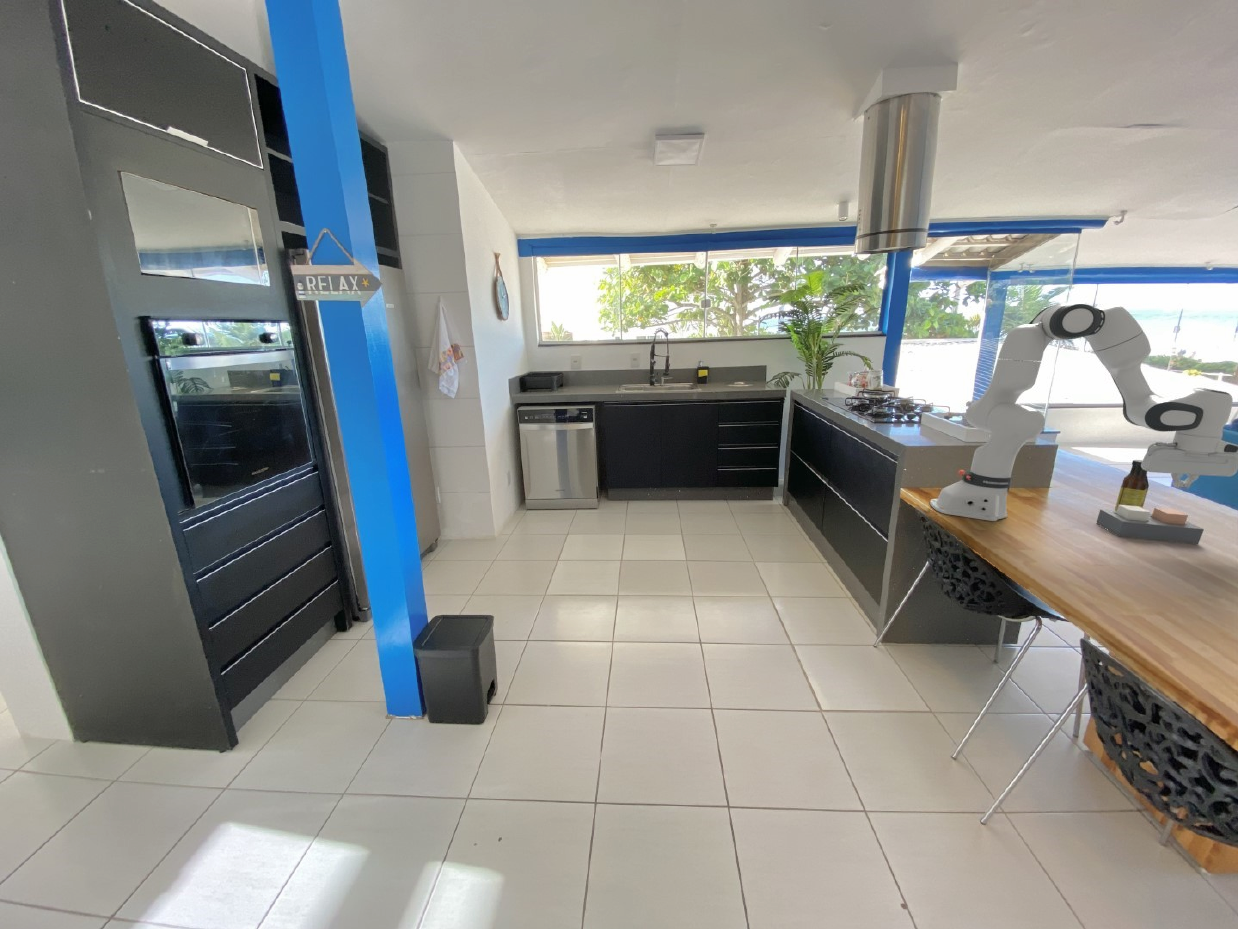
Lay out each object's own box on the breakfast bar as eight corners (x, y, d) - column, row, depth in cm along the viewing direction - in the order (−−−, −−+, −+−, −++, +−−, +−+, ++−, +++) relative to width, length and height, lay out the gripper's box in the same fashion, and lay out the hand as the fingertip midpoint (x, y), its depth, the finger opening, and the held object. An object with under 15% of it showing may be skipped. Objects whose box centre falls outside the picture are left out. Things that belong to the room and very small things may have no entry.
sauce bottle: (1144, 520, 158) (1163, 464, 152) (1122, 519, 159) (1140, 463, 154) (1128, 513, 164) (1146, 459, 159) (1107, 512, 165) (1124, 458, 160)
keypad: (1118, 536, 146) (1123, 521, 144) (1096, 523, 156) (1100, 509, 154) (1198, 544, 140) (1203, 529, 139) (1169, 530, 150) (1174, 515, 149)
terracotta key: (1162, 525, 144) (1166, 513, 143) (1150, 519, 149) (1154, 507, 148) (1183, 527, 143) (1188, 515, 142) (1170, 521, 147) (1175, 509, 146)
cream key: (1125, 521, 147) (1129, 510, 146) (1115, 516, 151) (1118, 504, 150) (1146, 523, 145) (1150, 511, 144) (1134, 517, 150) (1138, 506, 149)
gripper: (1158, 444, 139) (1144, 488, 142) (1251, 447, 133) (1234, 493, 136) (1142, 439, 144) (1130, 481, 148) (1231, 442, 138) (1215, 486, 142)
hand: (1180, 487), depth 142 cm, fingers closed
